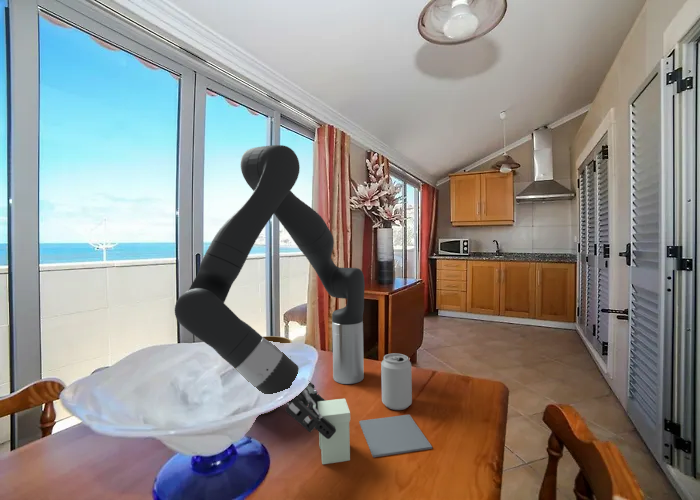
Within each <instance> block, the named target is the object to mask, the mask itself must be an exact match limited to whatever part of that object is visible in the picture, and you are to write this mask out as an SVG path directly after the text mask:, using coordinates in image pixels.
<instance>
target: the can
mask: <svg viewBox="0 0 700 500" xmlns="http://www.w3.org/2000/svg"><path fill="white" fill-rule="evenodd" d="M380 365H381V367H380V368H381V370H380V373H381V374H380V375H381V377H380V378H381V402H382V404H383V405H384V406H385V407H386V408H387V409H390V410H392V411H393V410H394V411H402V410H406V409H407V408H409V406H411V405H412V403H413V397H412V396H413V395H412V394H413V392H412V391H413V390H412V389H413V388H412V387H413V384H412V383H413V382H412V380H413V379H412V377H413V376H412V362H411V361H410V360H409V357H408V356H407V354H406V355H405V354H402V353H396V352H395V353H393V352H392V353H388V354H385V355H384V356H383V360H382V361H381V364H380Z"/></svg>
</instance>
